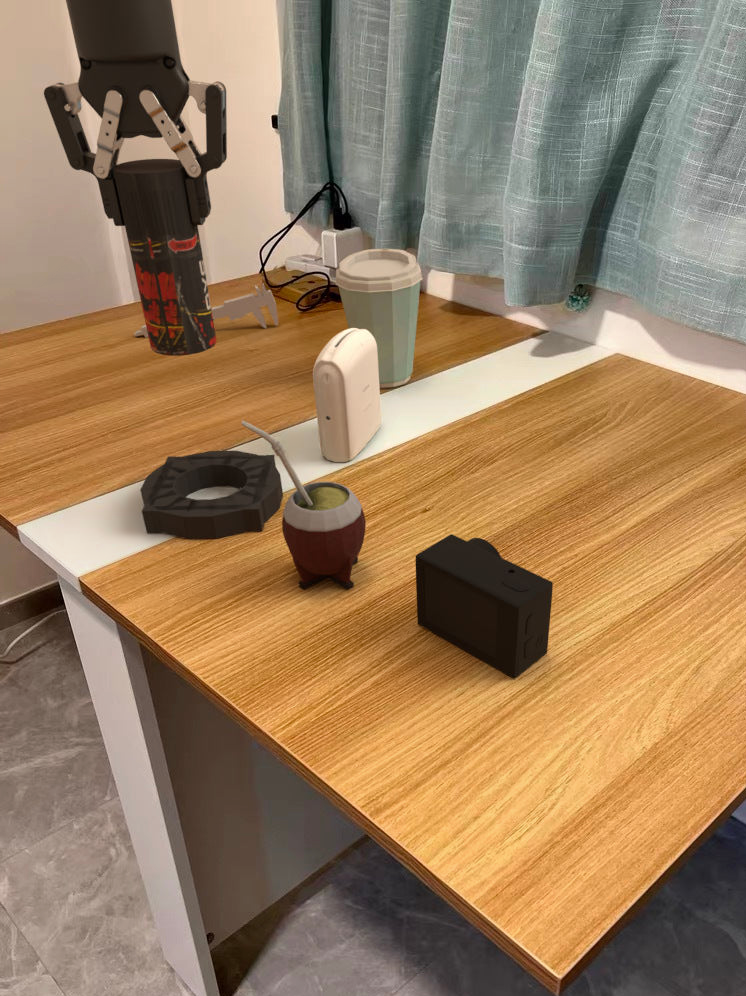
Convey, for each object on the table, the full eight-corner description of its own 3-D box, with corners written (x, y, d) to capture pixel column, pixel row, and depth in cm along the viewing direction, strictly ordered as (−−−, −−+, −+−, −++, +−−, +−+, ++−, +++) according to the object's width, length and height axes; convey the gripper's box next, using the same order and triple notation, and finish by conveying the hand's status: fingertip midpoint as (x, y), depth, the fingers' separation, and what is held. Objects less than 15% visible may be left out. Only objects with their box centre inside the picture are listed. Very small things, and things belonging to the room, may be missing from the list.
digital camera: (558, 646, 71) (564, 574, 67) (516, 680, 68) (520, 607, 63) (460, 595, 76) (461, 526, 72) (417, 624, 73) (415, 553, 69)
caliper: (278, 325, 131) (273, 281, 127) (279, 327, 130) (273, 284, 126) (135, 335, 127) (125, 291, 124) (134, 338, 126) (124, 294, 123)
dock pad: (131, 540, 84) (125, 517, 82) (164, 472, 94) (159, 451, 93) (272, 537, 84) (269, 515, 82) (289, 470, 95) (286, 449, 93)
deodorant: (147, 337, 83) (110, 162, 74) (211, 329, 85) (182, 156, 76) (154, 359, 79) (115, 175, 70) (221, 350, 80) (192, 169, 71)
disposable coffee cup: (417, 398, 109) (413, 274, 100) (332, 393, 111) (321, 270, 102) (432, 365, 118) (429, 248, 109) (353, 361, 119) (344, 245, 110)
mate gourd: (384, 574, 79) (375, 419, 70) (313, 611, 75) (294, 451, 66) (332, 541, 83) (318, 391, 74) (262, 575, 79) (238, 420, 70)
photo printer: (352, 465, 95) (343, 354, 88) (315, 460, 96) (304, 350, 89) (386, 425, 103) (381, 320, 96) (352, 421, 104) (344, 316, 97)
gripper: (-2, -14, 62) (62, 236, 72) (204, -16, 63) (239, 234, 73) (34, -18, 68) (89, 214, 78) (222, -20, 69) (252, 211, 79)
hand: (161, 222), depth 75 cm, fingers closed on deodorant, 6 cm apart
